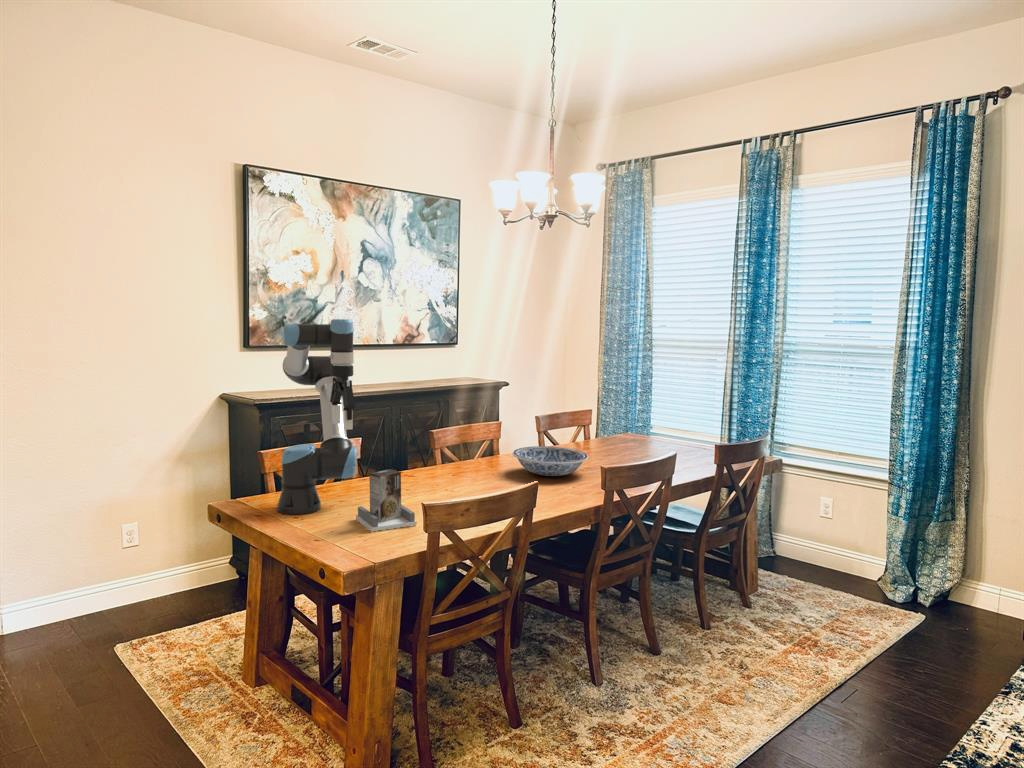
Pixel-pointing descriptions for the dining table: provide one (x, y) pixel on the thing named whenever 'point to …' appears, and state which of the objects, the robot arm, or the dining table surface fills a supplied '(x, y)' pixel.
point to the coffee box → (385, 494)
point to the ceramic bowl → (550, 460)
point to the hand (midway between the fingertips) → (342, 426)
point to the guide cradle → (373, 524)
